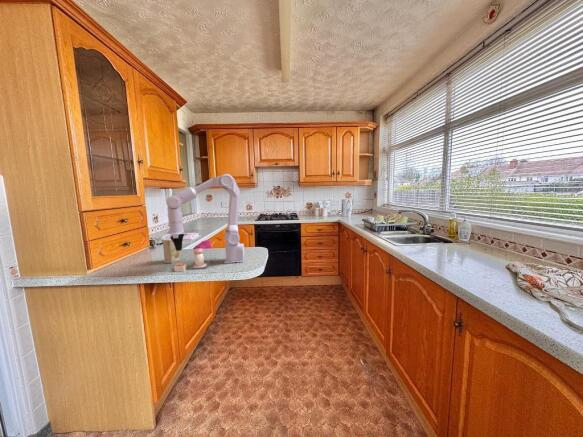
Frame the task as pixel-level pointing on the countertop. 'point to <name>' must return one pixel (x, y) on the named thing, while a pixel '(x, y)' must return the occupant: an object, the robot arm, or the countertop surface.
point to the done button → (180, 264)
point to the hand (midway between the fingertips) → (179, 250)
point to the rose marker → (199, 257)
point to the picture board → (206, 264)
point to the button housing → (180, 267)
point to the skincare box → (170, 251)
